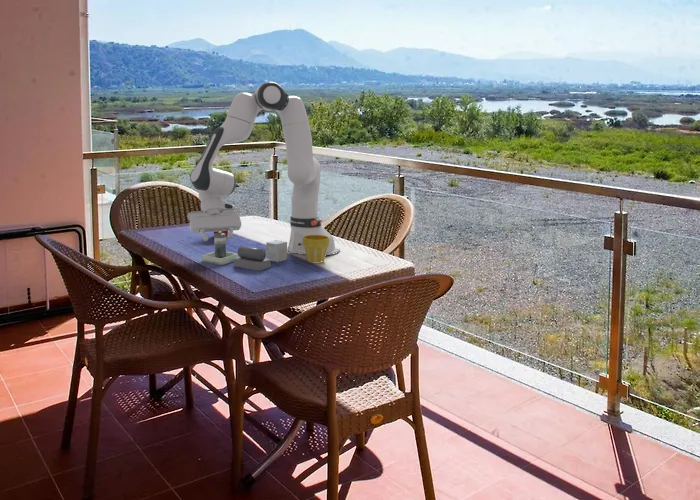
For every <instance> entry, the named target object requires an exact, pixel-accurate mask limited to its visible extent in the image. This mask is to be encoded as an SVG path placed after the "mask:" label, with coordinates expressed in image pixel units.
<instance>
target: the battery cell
mask: <svg viewBox="0 0 700 500" xmlns="http://www.w3.org/2000/svg"><path fill="white" fill-rule="evenodd" d="M213 236H214V237H213V239H214V240H213V241H214V242H213V243H214V244H213V245H214V252H215V257H217V258H224V257H226V252H227V237H226V233H222V232H221V231H219V232H218V233H215V234H214V233H213Z"/></svg>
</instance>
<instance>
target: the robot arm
mask: <svg viewBox="0 0 700 500" xmlns="http://www.w3.org/2000/svg"><path fill="white" fill-rule="evenodd" d="M273 111H275V112H276V113H277V114H278V116H279V118H280V121H281V126H282V127H281V128H282V132H283V137H284V143H285V149H286V151H285V152H286V164H287V178H288V179H289V181H290V182H292V184H293V186H292V187H293V188H292V194H291V197H290V198H291V199H290V200H291V201H290V202H291V204H290V205H291V208H290V209H291V210H290V211H291V216H290V221H289V223H290V236H289V243H288V245H287V251H289V253H290V254H293V253H298V254H297V255H303V254H306V252H305V246H303V237H304V236H306V235H325V236H328V237H329V246H328V247H327V250H326V254H325V255H330V254H333V253H336V252H339V251H340V252H341V249H340V248H339V247H336V246H335V245H336V244H335V239H334V236H333V235H332V234H331V233H330V232H328V231H327V230H326V229H325V228H324V227H323V226H322V223H323V222H324V221H323V220H324V219H323V218H322V219H320V217H319V213H318V212H319V194H320V193H319V192H320V191H319V190H320V183H321V171H322V166H321V164H320V162H319V160H318V159H317V158H315V157H314V153H313V136H312V132H311V127H310V121H309V118H308V113H307V109H306V107H305V105H304V101H303V100H302V98H301V97H299V96H296V95H289V94H288V93H287V92H286V91H285V90H284V88H283V87H282V86H281V85H280V84H279V83H277V82H275V81H265V82H264V83H262V84H260V85H259V86H258V87H257V88H256V90H255V91H254V92H253V93H250V92H245V91H243V92H239V93H237V94H236V95H235V96H234V98H233V100H232V101H231V104H230V106H229V109H228V111H227V115H226V118H225V120H224V121H223V123H222V124H221V125H220V126H218V127H216V128H215V129H214V130H213V132H212V133H211V135H210V137H209V139H208V141H207V144H206V145H205V147H204V150H203V151H202V153H201V155H200V158H199V160H198V161H197V163H196V164H195V166H194V167H193V169H192V170H191V172H190V173H191V174H190V176H189V177H190V182H191V184H192V186H193V188H194V189H195V190H197V193H198V197H199V201H200V210H198V211H194V210H193V211H190V212H189V213H188V214H187V216H186V217H187V220H188V221H189V231H190V232H191V233H195V234H197V233H199V235H200V236H201V237H202V238H203V242H207V241H209V235H208V234H205V233H212V232H213V233H214V232H216V231H228V235H227V237H226V238H227V240H233V233H234V231H239V230H240V229H241V228H242V220H241V217H240V215H239V212H238V211H237V210H236V206H235V205H234V204H231V203H227V202H224V201H223V199H226V198H227V197H229V196H230V195H231V194H233V193H234V192H235V190H236V187H237V181H236V178H235V175H234V174H233V173H231V172H229V171H226V170H223V169H218V168H215V167H212V165H213V163H214V161H215V159H216V157H217V155H218V153H219V150H220V149H221V148H222V147H223V146H225V145H228V144H236V143H241V142H244V141H246V140H247V139H248V138H249V137H250V136H251V133H252V131H253V127H254V124H255V122H256V118H257V115H258V114H259V112H273ZM340 252H339V253H340ZM336 254H337V253H336ZM330 256H331V255H330Z"/></svg>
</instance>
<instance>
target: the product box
mask: <svg viewBox="0 0 700 500" xmlns="http://www.w3.org/2000/svg"><path fill="white" fill-rule="evenodd" d="M265 245H266V246H265V247H266V248H265V249H266V250H265V252H266V257H265V258H266V259H271V262H274V261H275V263H280V262H283V260H284V261H286V260H285V259H287V260H288V242H287V241H283V240H280V239H279V240H278V239H273V240H269V241H266V243H265ZM279 261H280V262H279Z"/></svg>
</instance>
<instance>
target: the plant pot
mask: <svg viewBox="0 0 700 500" xmlns="http://www.w3.org/2000/svg"><path fill="white" fill-rule="evenodd" d="M303 246H305V252H306V255H305V256H306V261H307V262H308V261H309V262H308V263H311V262H321V261H324V262H325V258H326V256H325V254H326V250H327V247H328V246H329V237H328V236H325V235H306V236H304V237H303ZM321 263H322V262H321Z"/></svg>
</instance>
